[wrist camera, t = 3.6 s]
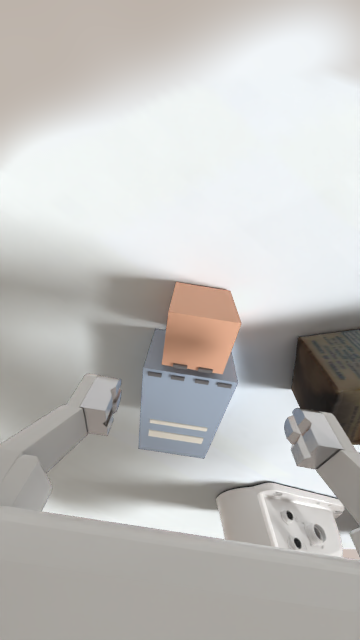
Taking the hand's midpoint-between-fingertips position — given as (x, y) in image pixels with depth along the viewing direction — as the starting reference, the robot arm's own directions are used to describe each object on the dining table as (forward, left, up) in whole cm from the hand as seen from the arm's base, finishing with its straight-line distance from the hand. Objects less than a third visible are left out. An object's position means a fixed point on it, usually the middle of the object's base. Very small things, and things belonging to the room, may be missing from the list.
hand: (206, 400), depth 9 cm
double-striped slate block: (0, +9, -9) cm, 13 cm away
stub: (0, 0, -9) cm, 9 cm away
